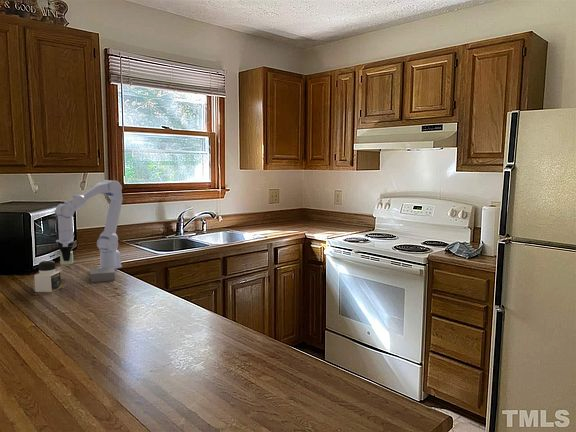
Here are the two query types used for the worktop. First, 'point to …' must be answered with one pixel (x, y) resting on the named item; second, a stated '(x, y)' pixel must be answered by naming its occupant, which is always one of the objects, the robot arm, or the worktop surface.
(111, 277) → the charcoal plinth
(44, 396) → the worktop surface
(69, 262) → the sage block
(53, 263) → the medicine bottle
